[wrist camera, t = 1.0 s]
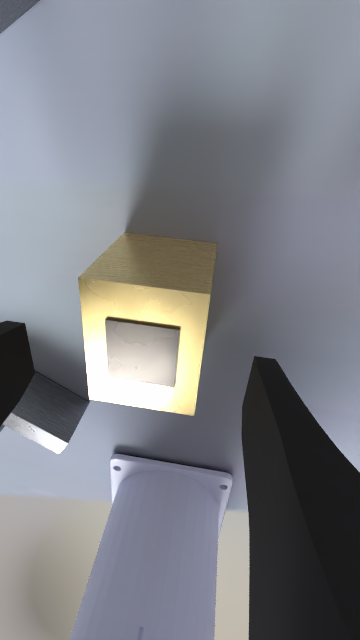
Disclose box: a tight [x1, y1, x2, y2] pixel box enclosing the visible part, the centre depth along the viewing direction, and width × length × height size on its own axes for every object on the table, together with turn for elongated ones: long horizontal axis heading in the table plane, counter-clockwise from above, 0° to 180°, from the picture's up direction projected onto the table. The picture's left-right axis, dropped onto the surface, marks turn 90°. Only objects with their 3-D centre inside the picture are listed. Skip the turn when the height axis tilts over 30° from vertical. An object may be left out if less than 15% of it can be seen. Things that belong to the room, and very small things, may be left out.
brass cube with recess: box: [78, 233, 218, 416], centre depth 13 cm, size 5×4×5 cm
